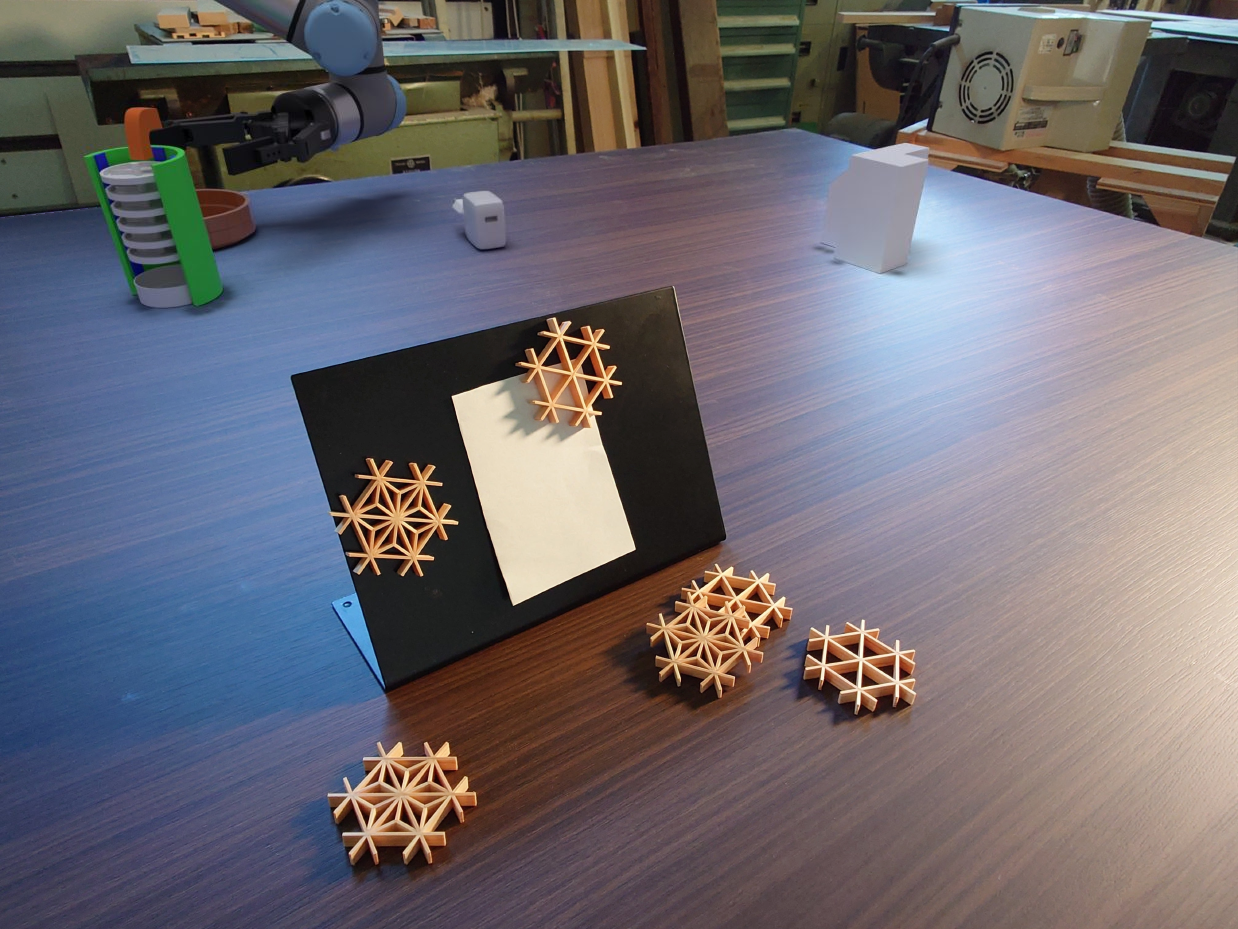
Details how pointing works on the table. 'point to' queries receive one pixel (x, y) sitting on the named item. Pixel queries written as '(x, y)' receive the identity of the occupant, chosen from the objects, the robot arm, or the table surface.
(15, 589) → the table surface
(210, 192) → the bowl
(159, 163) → the green-shelled ribbed roller
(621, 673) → the table surface
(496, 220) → the power adapter
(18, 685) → the table surface
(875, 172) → the white notched block
